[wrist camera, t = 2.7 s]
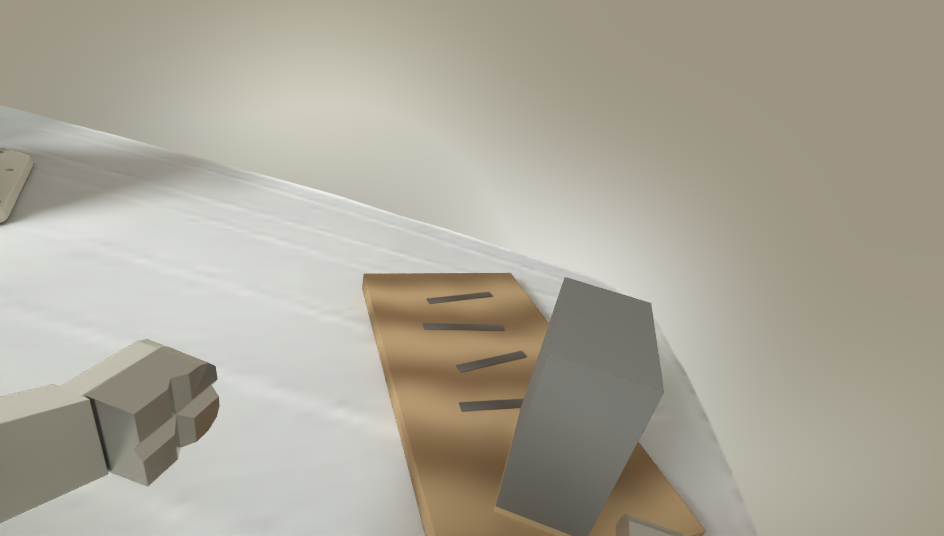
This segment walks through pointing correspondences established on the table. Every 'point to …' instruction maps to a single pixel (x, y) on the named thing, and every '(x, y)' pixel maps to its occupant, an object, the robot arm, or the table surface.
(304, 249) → the table surface
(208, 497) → the table surface
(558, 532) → the block
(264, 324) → the table surface
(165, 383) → the robot arm
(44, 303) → the table surface
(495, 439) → the oak board
